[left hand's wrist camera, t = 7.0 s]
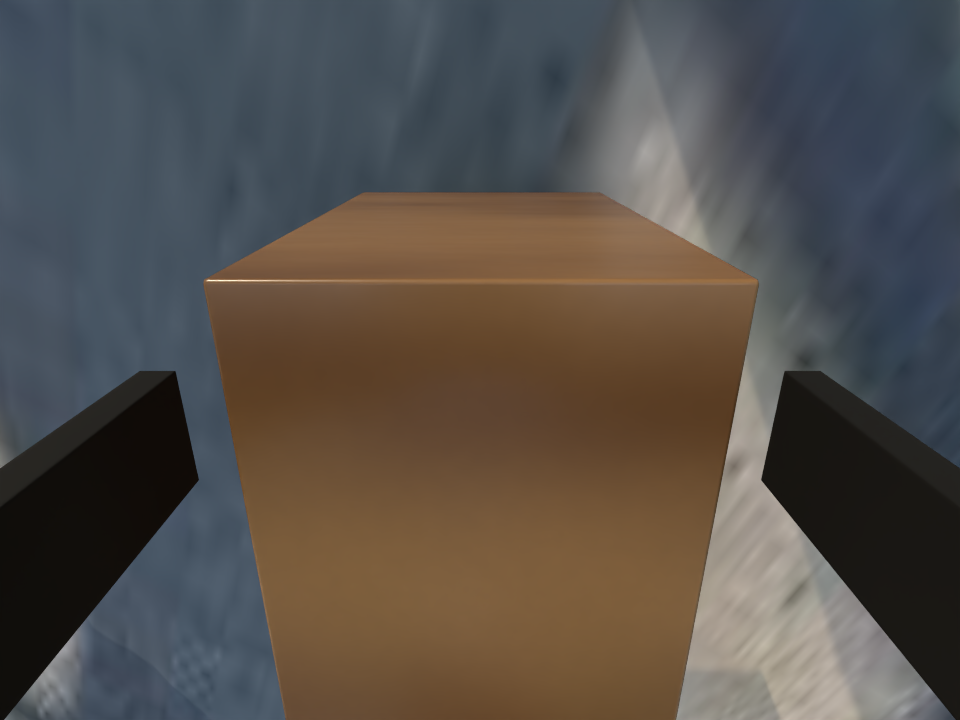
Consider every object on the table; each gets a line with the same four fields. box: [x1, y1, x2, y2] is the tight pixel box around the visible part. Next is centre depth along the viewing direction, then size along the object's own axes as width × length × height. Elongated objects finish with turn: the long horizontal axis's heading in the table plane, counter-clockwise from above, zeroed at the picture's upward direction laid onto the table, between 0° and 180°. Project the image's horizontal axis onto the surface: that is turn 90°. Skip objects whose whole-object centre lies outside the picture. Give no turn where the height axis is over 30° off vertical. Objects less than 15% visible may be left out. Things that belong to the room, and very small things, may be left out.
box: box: [204, 192, 759, 720], centre depth 18 cm, size 30×7×11 cm, turn 0°
